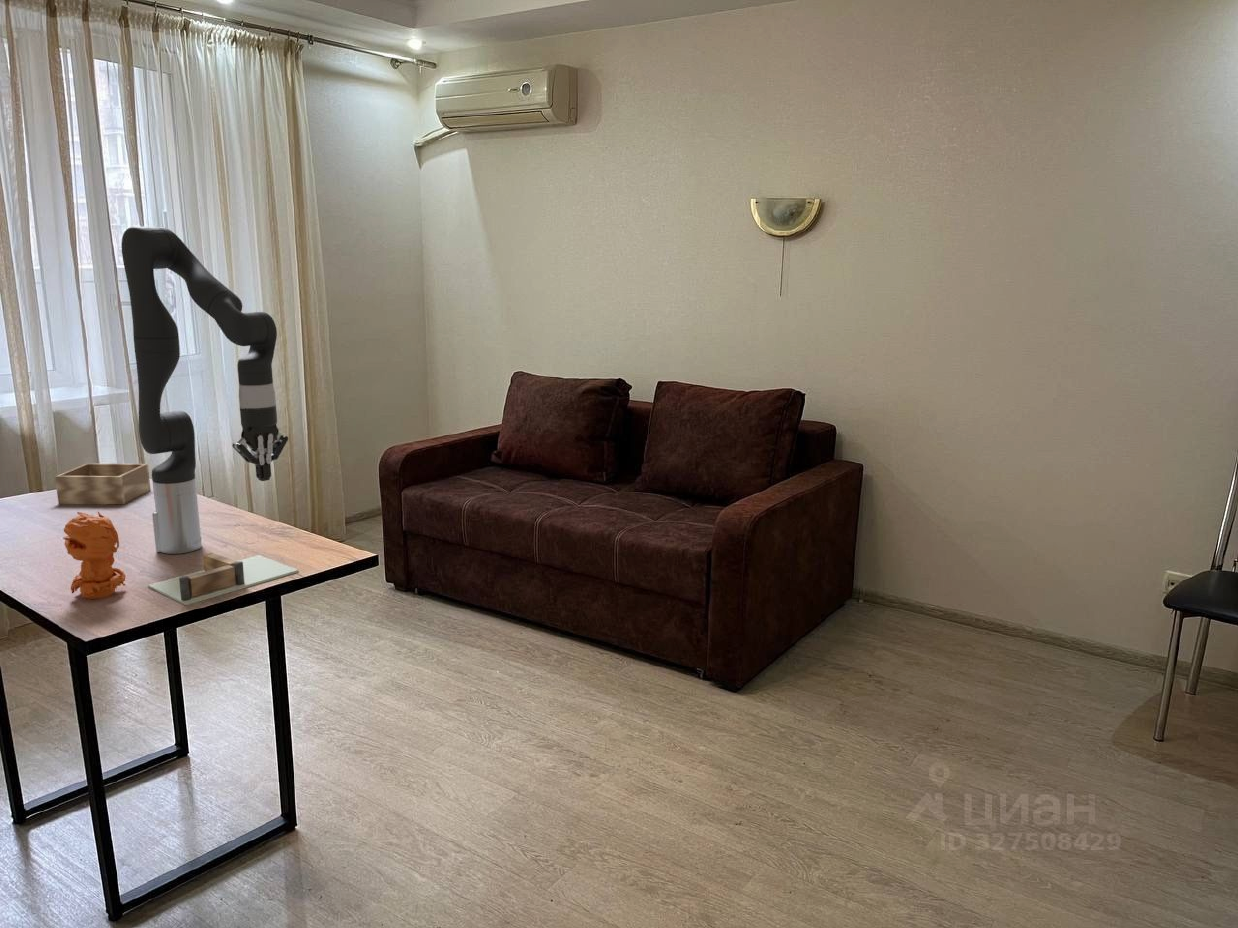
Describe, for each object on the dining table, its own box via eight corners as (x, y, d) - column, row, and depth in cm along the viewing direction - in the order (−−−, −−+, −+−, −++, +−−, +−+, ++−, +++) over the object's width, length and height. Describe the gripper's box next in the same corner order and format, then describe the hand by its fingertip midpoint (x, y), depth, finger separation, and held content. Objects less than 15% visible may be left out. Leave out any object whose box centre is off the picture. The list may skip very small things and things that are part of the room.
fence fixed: (184, 603, 189) (182, 579, 188) (179, 601, 190) (177, 577, 189) (246, 585, 200) (244, 562, 198) (241, 583, 201) (239, 560, 200)
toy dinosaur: (83, 584, 199) (73, 504, 195) (136, 583, 200) (127, 503, 196) (57, 604, 188) (45, 519, 184) (113, 603, 189) (102, 518, 185)
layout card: (185, 605, 188) (185, 602, 188) (148, 587, 198) (147, 584, 198) (298, 571, 208) (298, 569, 208) (259, 556, 218) (259, 554, 218)
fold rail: (239, 578, 201) (238, 561, 200) (231, 581, 199) (229, 563, 198) (213, 569, 206) (211, 552, 205) (204, 572, 205) (203, 554, 204)
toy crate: (58, 504, 259) (54, 476, 258) (89, 489, 275) (86, 463, 273) (123, 504, 260) (120, 477, 258) (150, 490, 275) (147, 463, 273)
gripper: (274, 398, 211) (280, 472, 215) (220, 406, 201) (227, 483, 205) (294, 401, 207) (299, 477, 211) (239, 409, 196) (246, 488, 200)
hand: (264, 480), depth 208 cm, fingers closed
